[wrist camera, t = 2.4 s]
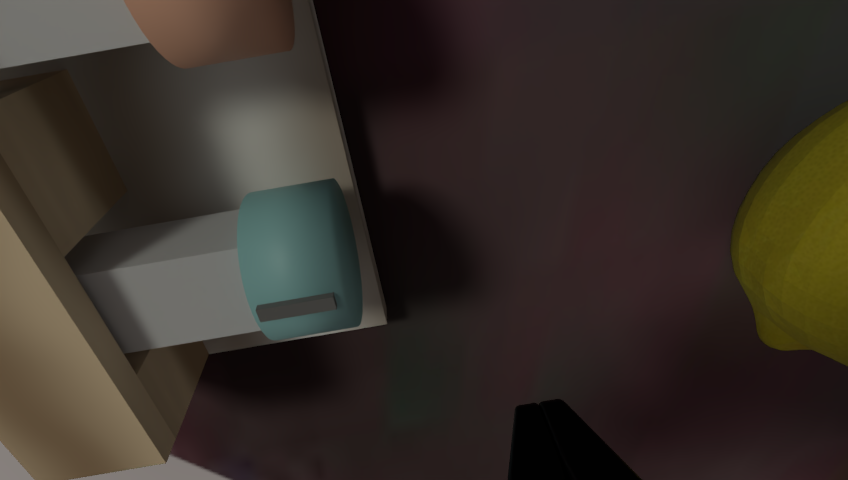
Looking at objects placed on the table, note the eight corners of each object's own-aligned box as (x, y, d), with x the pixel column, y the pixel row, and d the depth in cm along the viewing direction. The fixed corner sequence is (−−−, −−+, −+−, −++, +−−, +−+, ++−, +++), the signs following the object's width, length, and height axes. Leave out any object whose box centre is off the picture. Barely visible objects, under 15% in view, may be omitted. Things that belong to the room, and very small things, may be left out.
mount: (236, -318, 12) (132, -504, 7) (386, 307, 21) (389, 425, 16) (-244, -231, 12) (-703, -349, 7) (118, 353, 21) (39, 484, 16)
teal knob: (334, 155, 16) (321, 228, 12) (364, 270, 18) (360, 364, 14) (24, 208, 16) (-90, 299, 12) (92, 317, 18) (15, 422, 14)
